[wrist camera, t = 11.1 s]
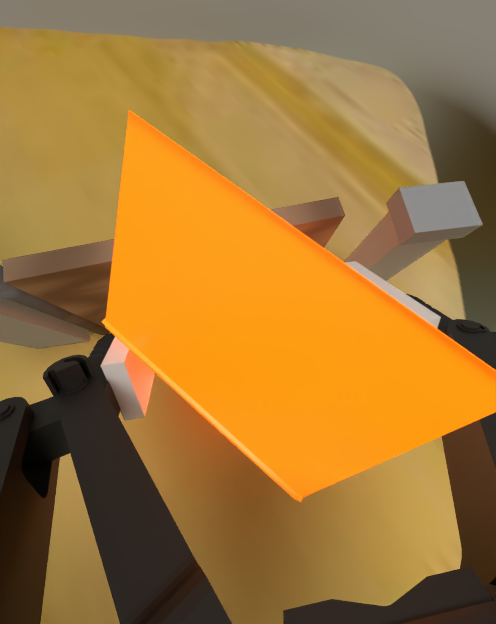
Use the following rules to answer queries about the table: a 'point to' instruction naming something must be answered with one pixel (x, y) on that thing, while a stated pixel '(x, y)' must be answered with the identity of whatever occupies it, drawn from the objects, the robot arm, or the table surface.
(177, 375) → the orange juice
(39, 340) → the grey rectangular posts
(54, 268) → the gate
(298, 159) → the table surface
